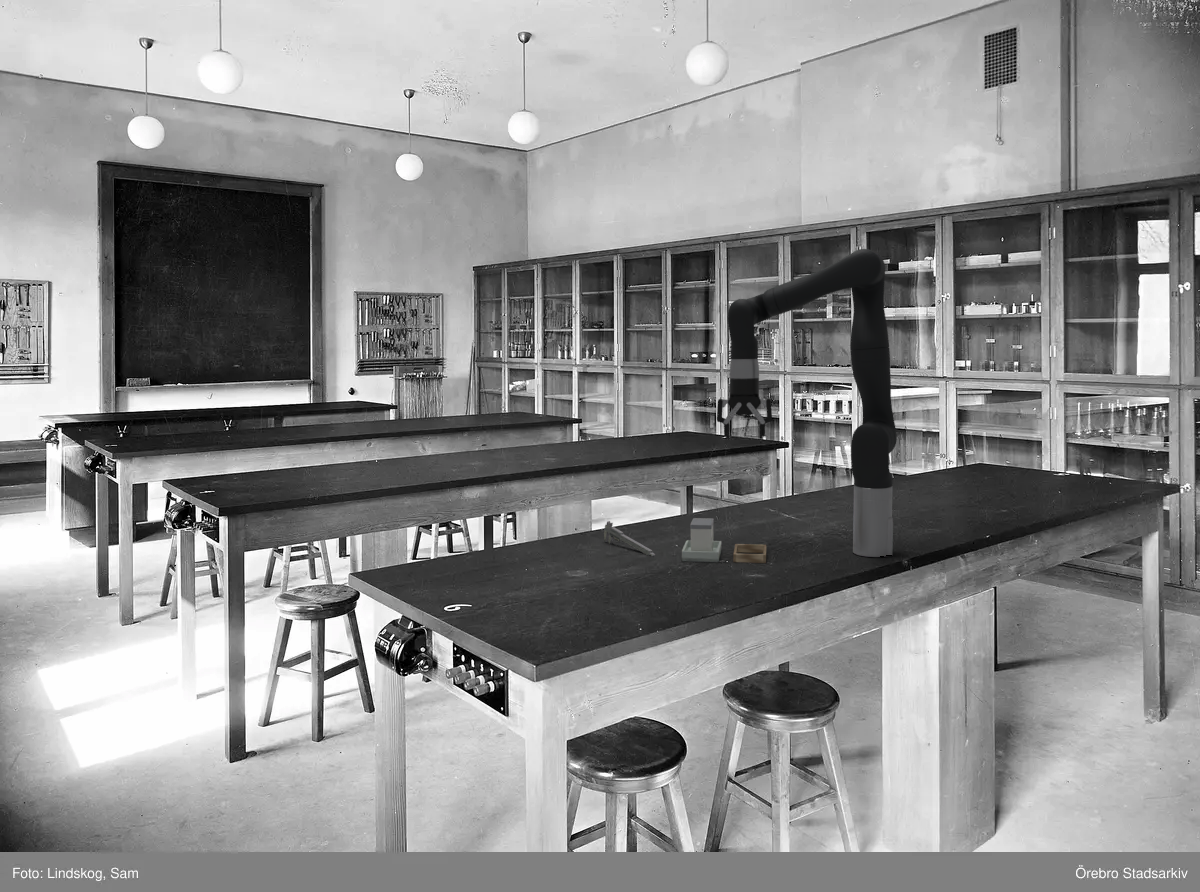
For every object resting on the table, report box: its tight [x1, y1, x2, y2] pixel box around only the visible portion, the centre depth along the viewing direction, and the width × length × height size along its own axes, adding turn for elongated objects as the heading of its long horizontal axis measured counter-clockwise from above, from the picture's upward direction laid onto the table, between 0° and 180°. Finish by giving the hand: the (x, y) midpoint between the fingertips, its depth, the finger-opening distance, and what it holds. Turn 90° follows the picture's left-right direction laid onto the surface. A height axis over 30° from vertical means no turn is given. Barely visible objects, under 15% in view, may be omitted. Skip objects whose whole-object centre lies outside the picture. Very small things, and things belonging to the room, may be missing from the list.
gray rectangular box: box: [689, 517, 715, 552], centre depth 230 cm, size 5×8×8 cm, turn 169°
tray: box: [681, 539, 722, 563], centre depth 231 cm, size 9×12×2 cm
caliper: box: [603, 520, 656, 557], centre depth 240 cm, size 20×1×6 cm, turn 37°
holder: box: [732, 543, 767, 564], centre depth 229 cm, size 8×11×2 cm
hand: (744, 438), depth 241 cm, fingers open, 8 cm apart
